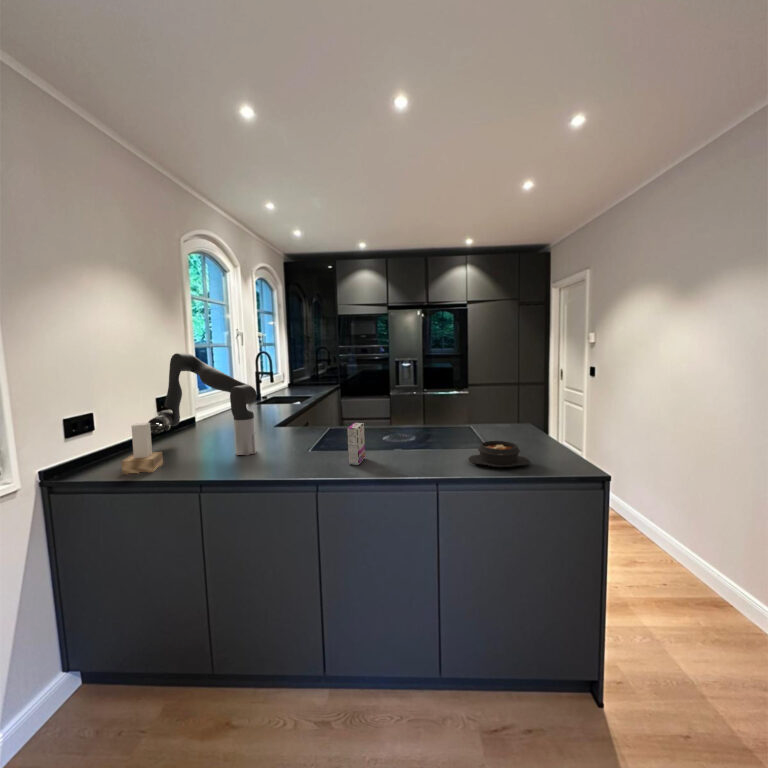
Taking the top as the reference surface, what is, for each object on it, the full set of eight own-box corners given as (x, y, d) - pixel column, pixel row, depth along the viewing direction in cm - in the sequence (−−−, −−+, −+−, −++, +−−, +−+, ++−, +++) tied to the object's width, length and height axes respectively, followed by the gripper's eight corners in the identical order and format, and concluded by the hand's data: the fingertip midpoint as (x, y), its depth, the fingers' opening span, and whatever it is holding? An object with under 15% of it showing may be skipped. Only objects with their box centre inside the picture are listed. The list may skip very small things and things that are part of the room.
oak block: (163, 464, 181) (162, 451, 181) (154, 472, 170) (153, 458, 169) (133, 467, 179) (132, 453, 178) (122, 475, 167) (121, 461, 166)
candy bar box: (355, 458, 183) (353, 422, 181) (365, 458, 182) (364, 422, 180) (347, 465, 172) (346, 428, 170) (359, 466, 171) (358, 428, 169)
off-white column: (152, 454, 177) (150, 422, 176) (148, 457, 172) (145, 424, 170) (138, 455, 176) (136, 423, 174) (133, 458, 170) (131, 425, 169)
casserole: (469, 470, 162) (469, 450, 161) (467, 457, 180) (467, 439, 179) (534, 472, 158) (534, 451, 157) (525, 458, 176) (525, 440, 175)
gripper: (142, 417, 194) (128, 423, 178) (174, 415, 197) (163, 421, 182) (143, 432, 195) (130, 440, 179) (175, 430, 198) (165, 438, 182)
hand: (147, 431), depth 180 cm, fingers open, 8 cm apart
